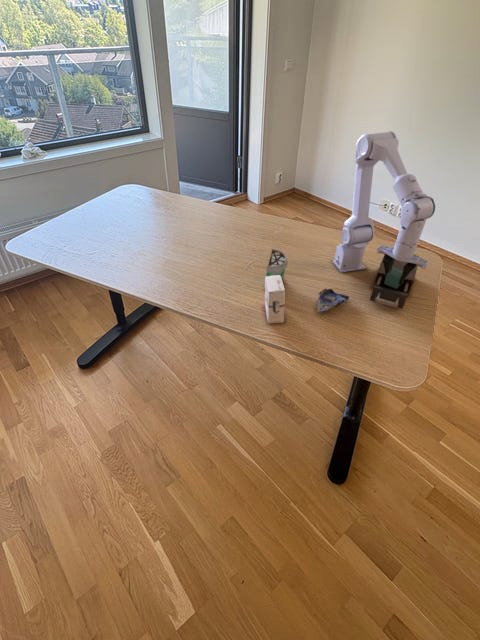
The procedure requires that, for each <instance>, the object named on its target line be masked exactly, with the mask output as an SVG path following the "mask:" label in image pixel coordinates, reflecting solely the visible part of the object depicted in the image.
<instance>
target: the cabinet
mask: <svg viewBox="0 0 480 640" xmlns="http://www.w3.org/2000/svg"><path fill="white" fill-rule="evenodd" d="M384 256H385V254H383V257H382V259H383V258H384ZM407 263H408V262H403V261H398V260H396V259H395V261H394V263H393V266H392V268H395V269H397V270H400V271H403V268H404V266H405V265H406V264H407ZM418 267H419V266H416V267H415V268H414V269H413V270H412V271H411V272H410V273H409V274H408V275H407V277H406V278H405V280H406V281H410V282H409V285H408V289H407V292H406V294H408V296H407V298H409V295H410V292H411V290H412V287H413V285H414V282H415V278H416V274H417V271H418ZM380 274H381V275H385V269H384V264H383V262H382V261H381V262H380V264H379V267H378V269H377V272H376V274H375V278H374V281H373V285H372V288H373V287H374V285H375V286H376V284H377V282H378V279H379V277H380Z"/></svg>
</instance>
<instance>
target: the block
mask: <svg viewBox="0 0 480 640" xmlns="http://www.w3.org/2000/svg"><path fill="white" fill-rule="evenodd" d="M402 273H403V271H400V270H397V269H395V268H392V269H391V270H390V271H389V272H388V273H387V276H386V279H385V283H384V284H386V285H388V286H391V287H393V288H396V289H397V288H398V287H399V285H400V284H399V282H400V279H401V276H402Z"/></svg>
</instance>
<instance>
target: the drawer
mask: <svg viewBox="0 0 480 640" xmlns="http://www.w3.org/2000/svg"><path fill="white" fill-rule="evenodd" d="M409 282H410V281H406V280H404V282H403V283H402V284H400V285H399V287H398V288H397V289H396V288H393V287H391V286H388V285H386V284H384V283H385V275H381V274H380V277H379V279H378V282H377V284H376V286H375V285H374V284H373V285H374V287H373V286H372V291H371V294H370V297H369V301H370V302H371V301H372V302H374V303H377V304H381V305H385V306H388V307H392V308H394V309H395V308H396V309H401V310H403V309H404V306H405V304H406V301H407V299H408V297H409V295H408V294H406V292H407V289H408V285H409ZM407 296H408V297H407Z"/></svg>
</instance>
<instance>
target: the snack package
mask: <svg viewBox="0 0 480 640" xmlns="http://www.w3.org/2000/svg"><path fill="white" fill-rule="evenodd" d="M318 295H319V297H318V299H317V312H318V313H319V314H320V315H321V314H322V313H324V312H326V311H329V310H332V309H335V308H337V307H338V306H340V305H341V304H342V303H344V302H346V303H347V302H348V301H347V300H349V299H350V296H348V295H345V294H342V293H336V292H335V291H334V289H332V288H324V289H322V290H320V291H319V293H318Z"/></svg>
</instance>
